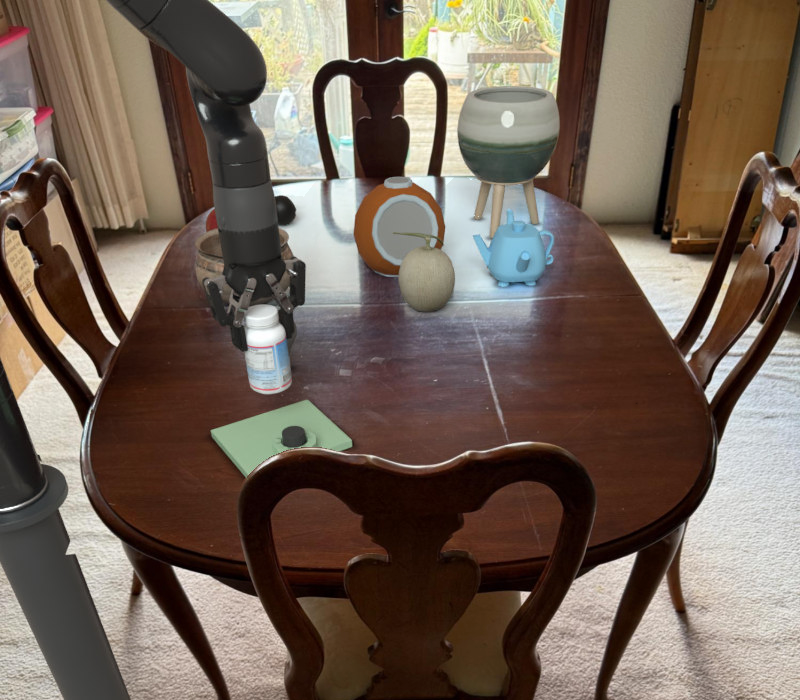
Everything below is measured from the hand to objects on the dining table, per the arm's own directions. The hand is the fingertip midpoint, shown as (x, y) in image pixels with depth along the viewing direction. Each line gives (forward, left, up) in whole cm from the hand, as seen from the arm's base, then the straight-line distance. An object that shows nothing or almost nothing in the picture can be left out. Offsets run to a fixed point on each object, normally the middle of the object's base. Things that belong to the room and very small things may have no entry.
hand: (264, 342), depth 108 cm
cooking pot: (+16, +46, -14) cm, 50 cm away
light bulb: (+9, +17, -14) cm, 24 cm away
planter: (+83, +52, -14) cm, 99 cm away
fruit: (+43, +24, -14) cm, 51 cm away
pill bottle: (0, 0, -7) cm, 7 cm away
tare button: (-1, -9, -11) cm, 14 cm away
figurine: (+44, +90, -14) cm, 101 cm away
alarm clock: (+50, +45, -14) cm, 68 cm away
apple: (+25, +80, -14) cm, 85 cm away
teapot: (+65, +26, -14) cm, 71 cm away
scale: (-1, -3, -14) cm, 14 cm away
